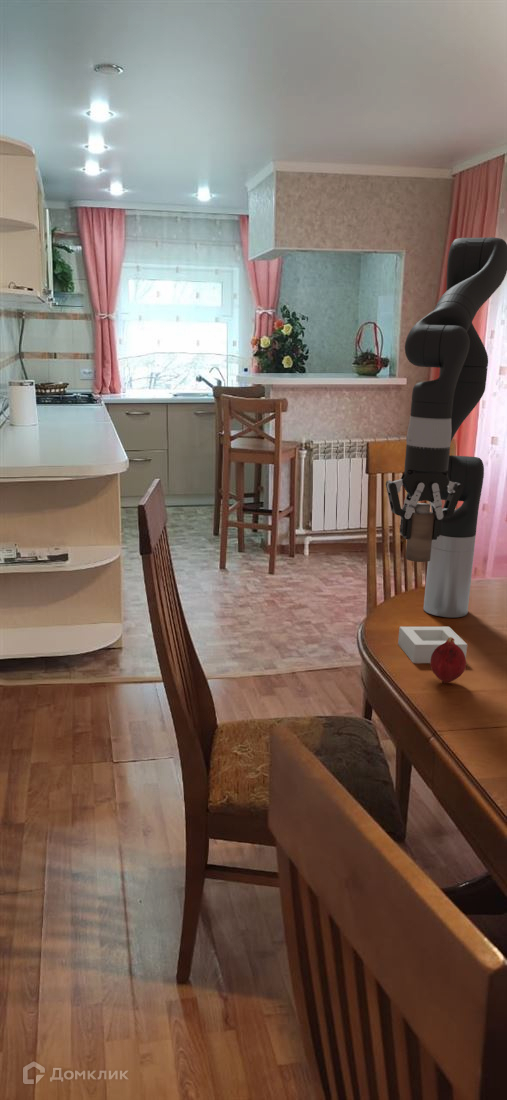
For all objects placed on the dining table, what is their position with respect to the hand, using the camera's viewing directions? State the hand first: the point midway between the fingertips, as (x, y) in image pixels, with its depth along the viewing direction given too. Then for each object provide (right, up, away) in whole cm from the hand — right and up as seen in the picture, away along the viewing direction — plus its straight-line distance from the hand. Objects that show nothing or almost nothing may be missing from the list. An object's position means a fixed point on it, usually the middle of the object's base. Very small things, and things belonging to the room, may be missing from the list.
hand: (419, 538), depth 151 cm
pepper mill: (0, -4, +1) cm, 4 cm away
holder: (+3, -21, +4) cm, 22 cm away
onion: (+2, -25, -10) cm, 27 cm away
